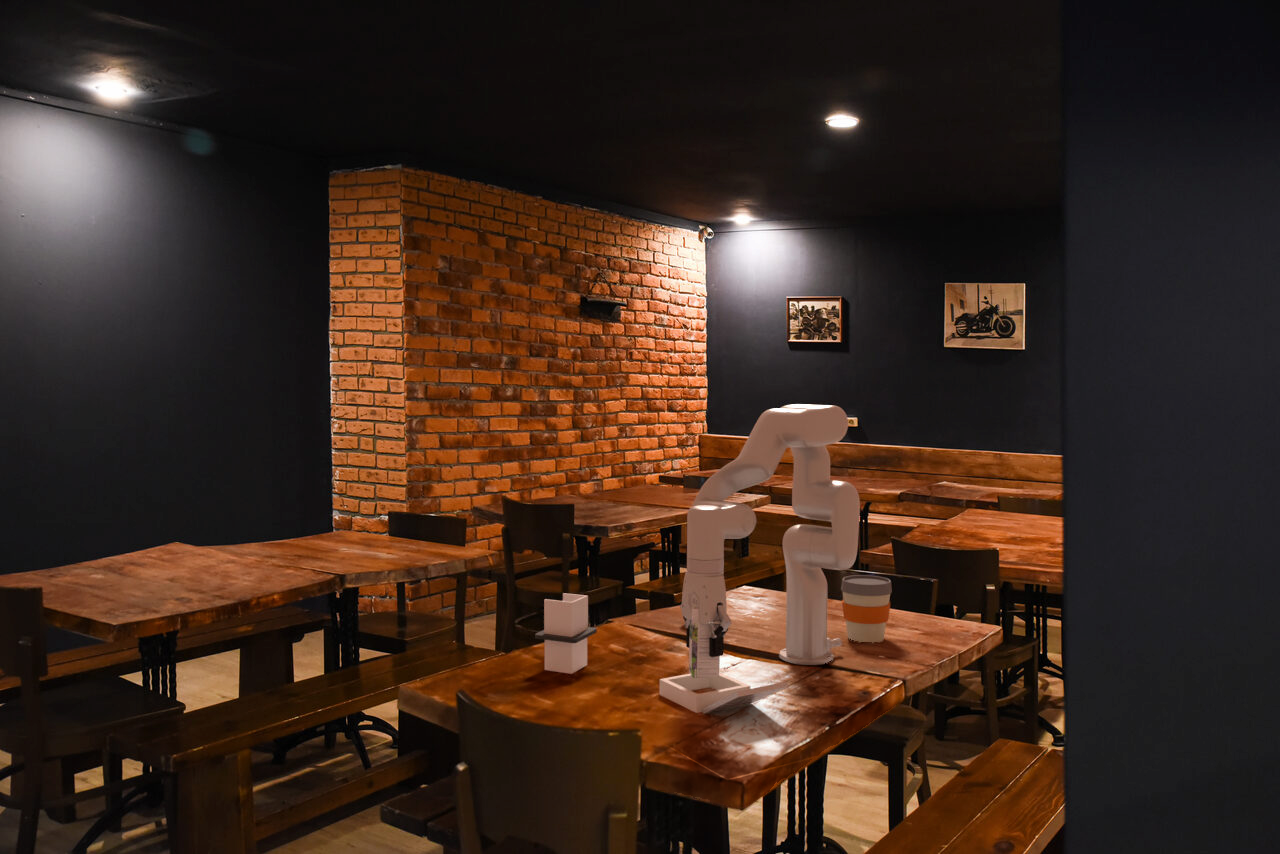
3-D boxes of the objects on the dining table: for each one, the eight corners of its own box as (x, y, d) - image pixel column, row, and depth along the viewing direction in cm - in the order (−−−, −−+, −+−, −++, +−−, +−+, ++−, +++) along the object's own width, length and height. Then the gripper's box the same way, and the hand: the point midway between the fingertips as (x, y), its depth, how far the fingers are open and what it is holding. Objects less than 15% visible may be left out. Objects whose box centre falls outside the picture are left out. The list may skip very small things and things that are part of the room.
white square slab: (703, 714, 201) (701, 708, 201) (751, 703, 207) (750, 698, 208) (738, 696, 191) (736, 691, 191) (788, 686, 197) (786, 681, 198)
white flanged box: (546, 648, 250) (546, 582, 249) (637, 660, 240) (637, 591, 239) (491, 676, 227) (490, 603, 226) (588, 691, 217) (588, 614, 216)
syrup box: (688, 670, 213) (688, 601, 213) (716, 669, 214) (716, 601, 213) (691, 678, 208) (692, 607, 207) (720, 678, 208) (721, 607, 207)
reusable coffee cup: (835, 641, 256) (836, 582, 255) (845, 630, 268) (846, 573, 267) (887, 647, 251) (887, 586, 251) (894, 634, 263) (895, 577, 262)
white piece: (711, 685, 220) (711, 669, 220) (750, 702, 209) (750, 685, 209) (659, 695, 213) (659, 679, 213) (696, 714, 202) (696, 696, 202)
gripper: (666, 561, 215) (666, 644, 216) (715, 575, 200) (714, 664, 201) (695, 557, 219) (695, 639, 220) (746, 571, 204) (745, 658, 205)
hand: (704, 650), depth 210 cm, fingers closed on syrup box, 7 cm apart
